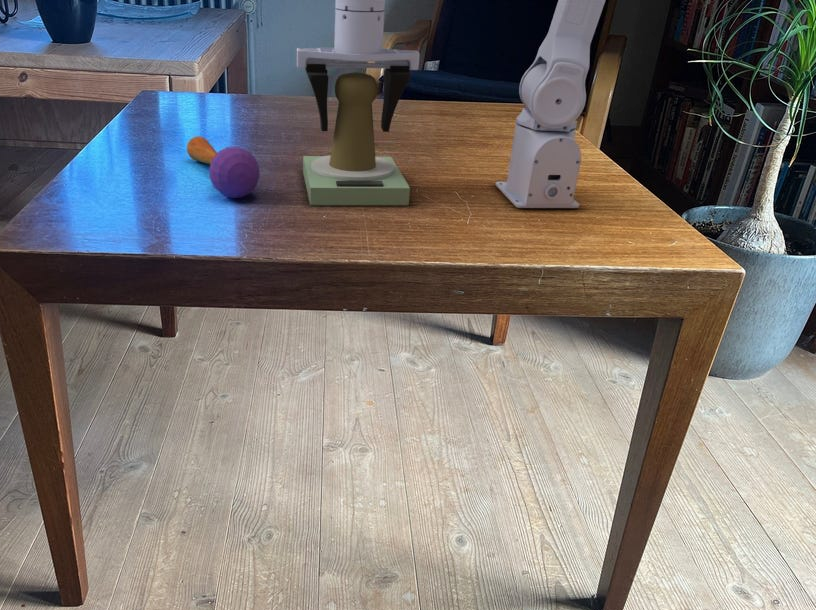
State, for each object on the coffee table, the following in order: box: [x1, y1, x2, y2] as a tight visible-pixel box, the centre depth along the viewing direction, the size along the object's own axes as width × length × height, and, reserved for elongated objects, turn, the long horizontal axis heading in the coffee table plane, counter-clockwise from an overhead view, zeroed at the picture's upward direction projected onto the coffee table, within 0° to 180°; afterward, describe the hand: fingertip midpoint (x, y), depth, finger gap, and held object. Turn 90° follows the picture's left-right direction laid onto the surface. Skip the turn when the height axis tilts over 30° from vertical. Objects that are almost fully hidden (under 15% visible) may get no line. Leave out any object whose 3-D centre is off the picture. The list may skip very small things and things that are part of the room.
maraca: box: [186, 136, 260, 199], centre depth 94 cm, size 6×6×20 cm
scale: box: [302, 154, 411, 206], centre depth 94 cm, size 14×12×3 cm
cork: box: [329, 71, 378, 171], centre depth 91 cm, size 6×6×11 cm
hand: (354, 129), depth 92 cm, fingers open, 7 cm apart
